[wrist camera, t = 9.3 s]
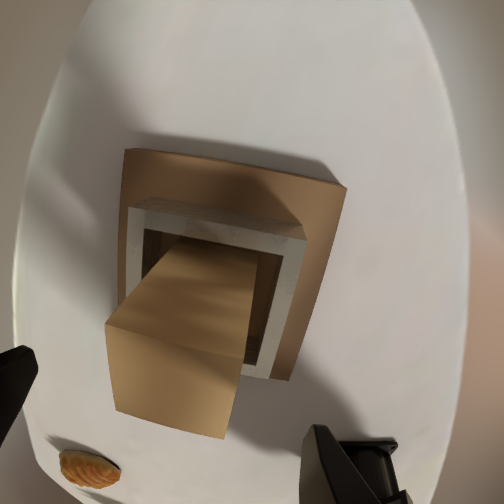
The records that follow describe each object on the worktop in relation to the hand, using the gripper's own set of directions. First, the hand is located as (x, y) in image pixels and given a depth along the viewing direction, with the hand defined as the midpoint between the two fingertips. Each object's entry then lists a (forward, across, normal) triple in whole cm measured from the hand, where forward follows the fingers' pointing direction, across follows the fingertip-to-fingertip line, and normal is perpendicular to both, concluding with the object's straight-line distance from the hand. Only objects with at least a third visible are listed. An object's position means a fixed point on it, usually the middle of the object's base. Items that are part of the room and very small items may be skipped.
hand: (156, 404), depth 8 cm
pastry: (+10, +13, +31) cm, 35 cm away
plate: (+10, 0, 0) cm, 10 cm away
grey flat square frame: (+9, 0, 0) cm, 9 cm away
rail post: (+9, 0, 0) cm, 9 cm away
